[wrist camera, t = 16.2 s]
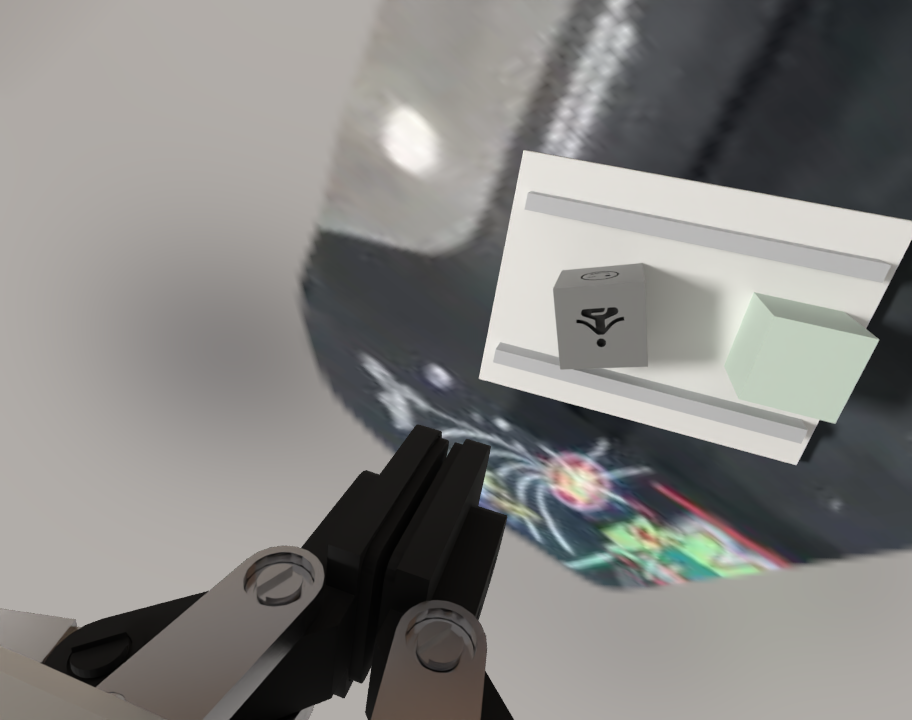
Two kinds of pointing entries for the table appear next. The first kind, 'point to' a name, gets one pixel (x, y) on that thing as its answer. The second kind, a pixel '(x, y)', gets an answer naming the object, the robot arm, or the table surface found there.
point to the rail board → (696, 300)
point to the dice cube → (601, 317)
